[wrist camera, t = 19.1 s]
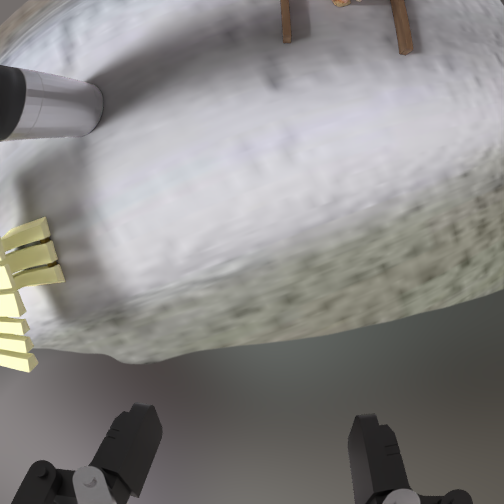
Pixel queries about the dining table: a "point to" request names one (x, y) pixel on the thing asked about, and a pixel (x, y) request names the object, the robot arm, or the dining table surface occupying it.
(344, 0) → the grandmother figurine
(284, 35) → the box
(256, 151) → the dining table surface
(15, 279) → the slatted curved stool
